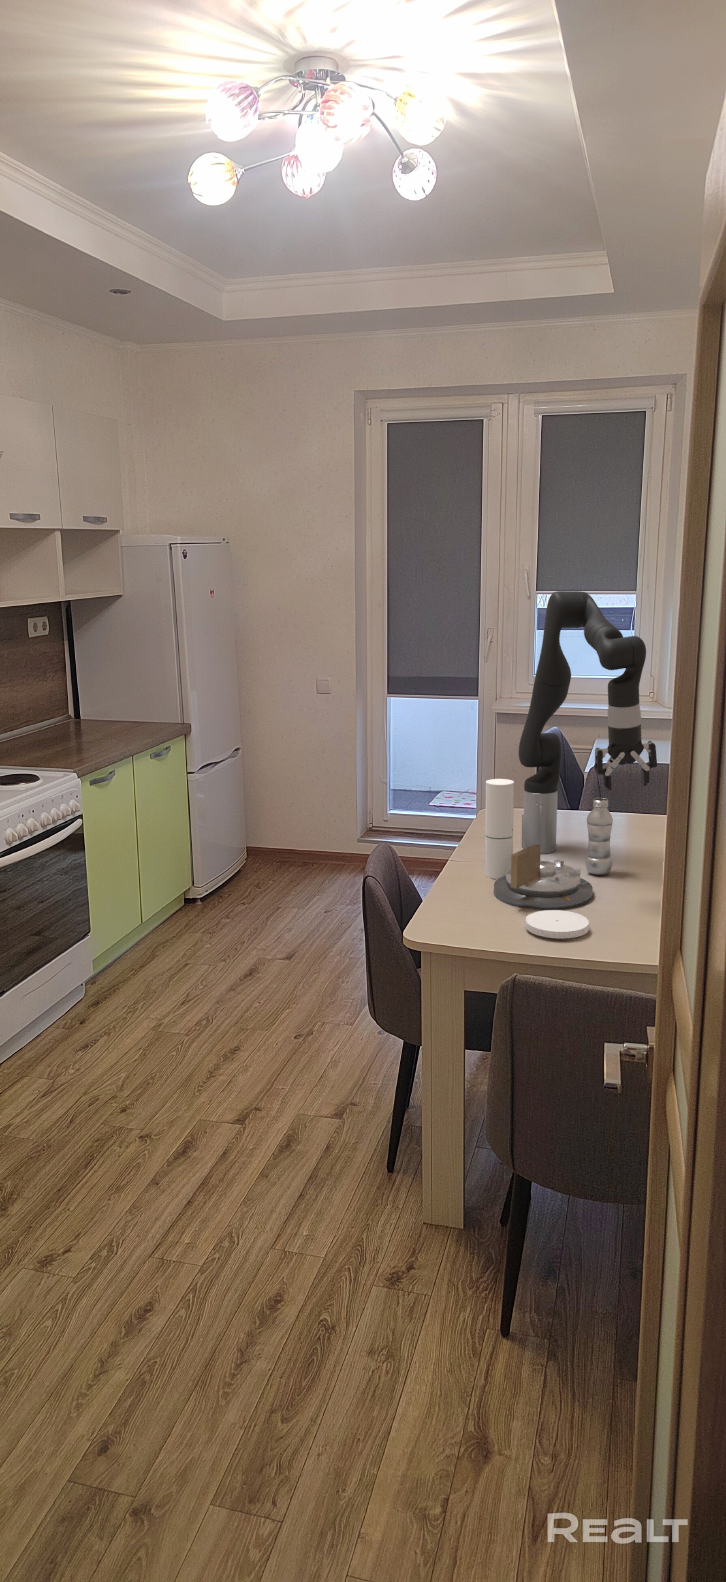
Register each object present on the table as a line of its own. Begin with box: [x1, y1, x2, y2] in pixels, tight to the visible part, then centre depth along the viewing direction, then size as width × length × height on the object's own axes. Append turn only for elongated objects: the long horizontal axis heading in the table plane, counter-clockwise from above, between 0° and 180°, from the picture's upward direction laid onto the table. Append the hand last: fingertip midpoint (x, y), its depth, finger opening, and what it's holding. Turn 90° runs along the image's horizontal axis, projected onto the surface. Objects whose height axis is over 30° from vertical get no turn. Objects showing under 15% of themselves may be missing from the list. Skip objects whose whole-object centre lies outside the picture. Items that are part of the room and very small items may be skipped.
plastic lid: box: [524, 910, 590, 939], centre depth 232 cm, size 14×14×2 cm
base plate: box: [493, 876, 594, 911], centre depth 257 cm, size 24×24×2 cm
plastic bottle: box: [585, 797, 614, 876], centre depth 269 cm, size 6×7×20 cm
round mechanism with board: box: [506, 844, 581, 897], centre depth 253 cm, size 23×18×11 cm
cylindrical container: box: [484, 778, 515, 880], centre depth 270 cm, size 7×7×25 cm
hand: (626, 786), depth 248 cm, fingers open, 8 cm apart
